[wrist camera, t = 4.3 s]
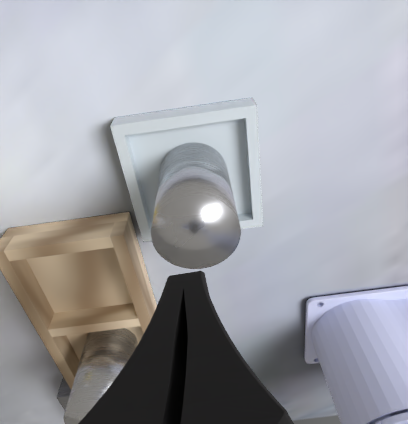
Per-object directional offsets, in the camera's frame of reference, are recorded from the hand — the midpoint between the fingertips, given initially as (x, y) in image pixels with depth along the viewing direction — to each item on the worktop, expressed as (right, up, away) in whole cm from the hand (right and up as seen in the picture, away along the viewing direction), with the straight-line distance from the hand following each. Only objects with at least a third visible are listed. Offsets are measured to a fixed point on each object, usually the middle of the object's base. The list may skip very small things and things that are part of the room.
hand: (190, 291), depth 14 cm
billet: (0, +5, +7) cm, 9 cm away
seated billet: (-7, -7, +14) cm, 17 cm away
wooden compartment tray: (-7, -4, +13) cm, 16 cm away
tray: (0, +6, +8) cm, 9 cm away
